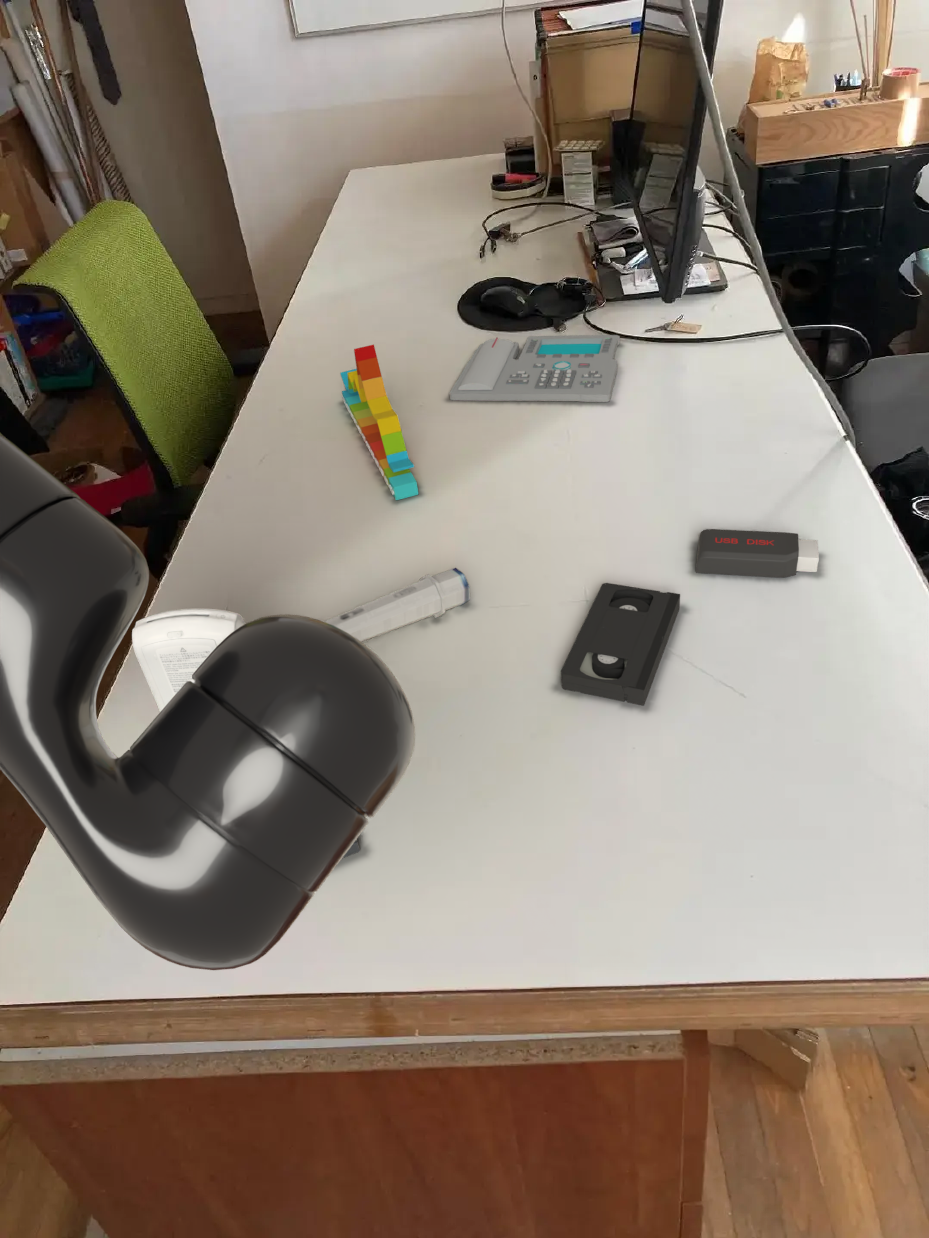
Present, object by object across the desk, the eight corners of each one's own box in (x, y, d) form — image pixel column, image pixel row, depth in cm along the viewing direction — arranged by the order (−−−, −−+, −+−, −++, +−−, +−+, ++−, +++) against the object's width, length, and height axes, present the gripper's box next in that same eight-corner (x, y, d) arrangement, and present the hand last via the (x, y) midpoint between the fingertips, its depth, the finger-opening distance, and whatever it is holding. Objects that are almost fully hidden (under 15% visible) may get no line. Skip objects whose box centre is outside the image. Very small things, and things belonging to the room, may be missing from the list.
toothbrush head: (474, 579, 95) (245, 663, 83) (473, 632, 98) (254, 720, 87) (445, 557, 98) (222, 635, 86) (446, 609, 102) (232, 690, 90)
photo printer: (275, 694, 90) (242, 593, 82) (268, 726, 87) (233, 624, 79) (172, 701, 91) (130, 603, 83) (161, 733, 88) (116, 634, 80)
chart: (342, 403, 138) (321, 304, 129) (363, 398, 139) (344, 299, 129) (394, 501, 115) (373, 389, 106) (418, 494, 116) (400, 383, 106)
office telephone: (447, 385, 133) (479, 328, 148) (449, 402, 135) (481, 344, 150) (609, 385, 127) (626, 326, 142) (609, 403, 129) (626, 342, 144)
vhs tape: (603, 597, 96) (603, 581, 95) (679, 609, 94) (680, 594, 92) (560, 688, 87) (559, 673, 85) (644, 705, 84) (644, 689, 82)
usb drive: (698, 544, 102) (699, 523, 100) (814, 550, 99) (818, 528, 97) (695, 573, 98) (697, 551, 96) (816, 579, 95) (820, 558, 93)
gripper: (370, 660, 46) (348, 691, 63) (100, 756, 43) (153, 762, 60) (423, 804, 45) (386, 796, 62) (153, 912, 42) (191, 873, 59)
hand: (272, 779), depth 61 cm, fingers closed
